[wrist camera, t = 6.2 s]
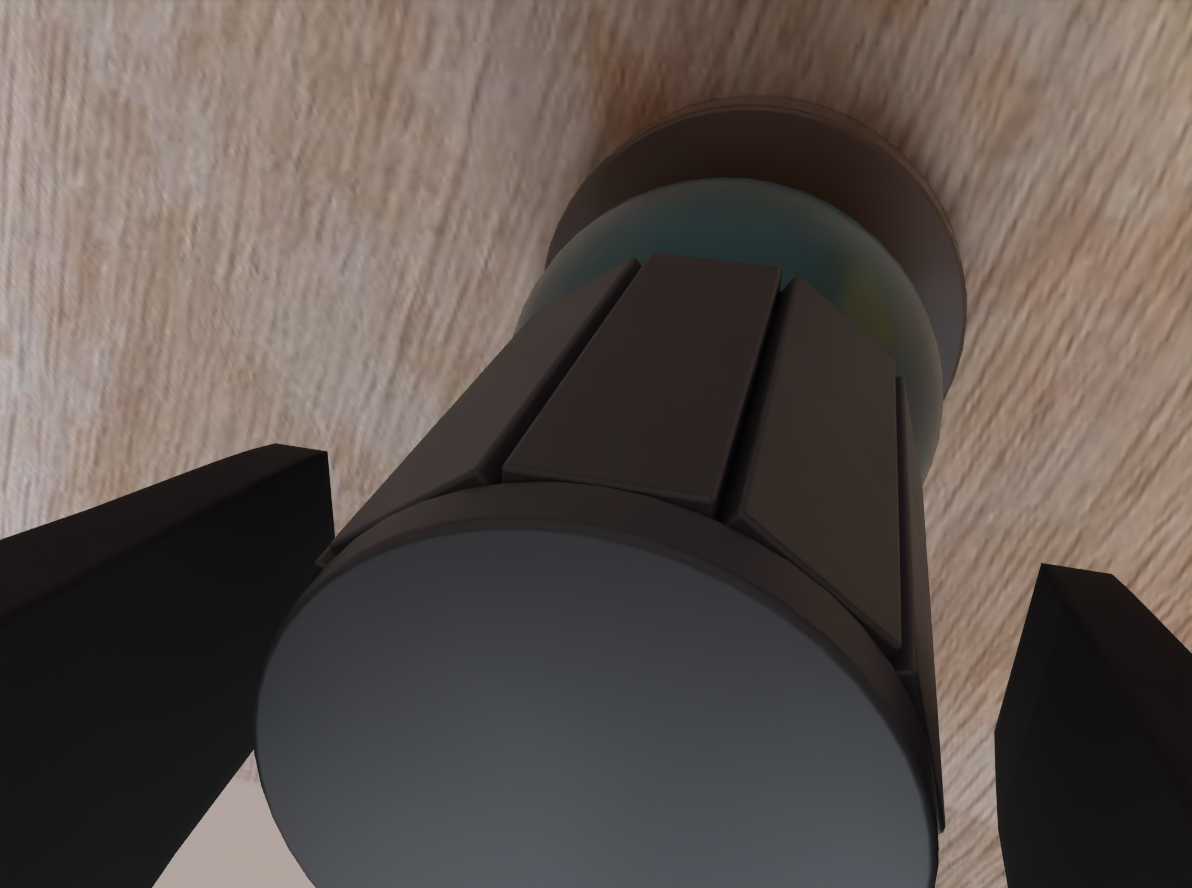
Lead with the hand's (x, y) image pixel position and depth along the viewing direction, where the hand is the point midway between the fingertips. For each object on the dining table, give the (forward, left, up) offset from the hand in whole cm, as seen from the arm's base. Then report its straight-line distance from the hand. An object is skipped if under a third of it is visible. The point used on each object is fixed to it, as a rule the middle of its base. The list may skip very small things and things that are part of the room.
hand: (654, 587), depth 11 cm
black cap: (0, 0, -3) cm, 3 cm away
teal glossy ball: (0, 0, -9) cm, 9 cm away
